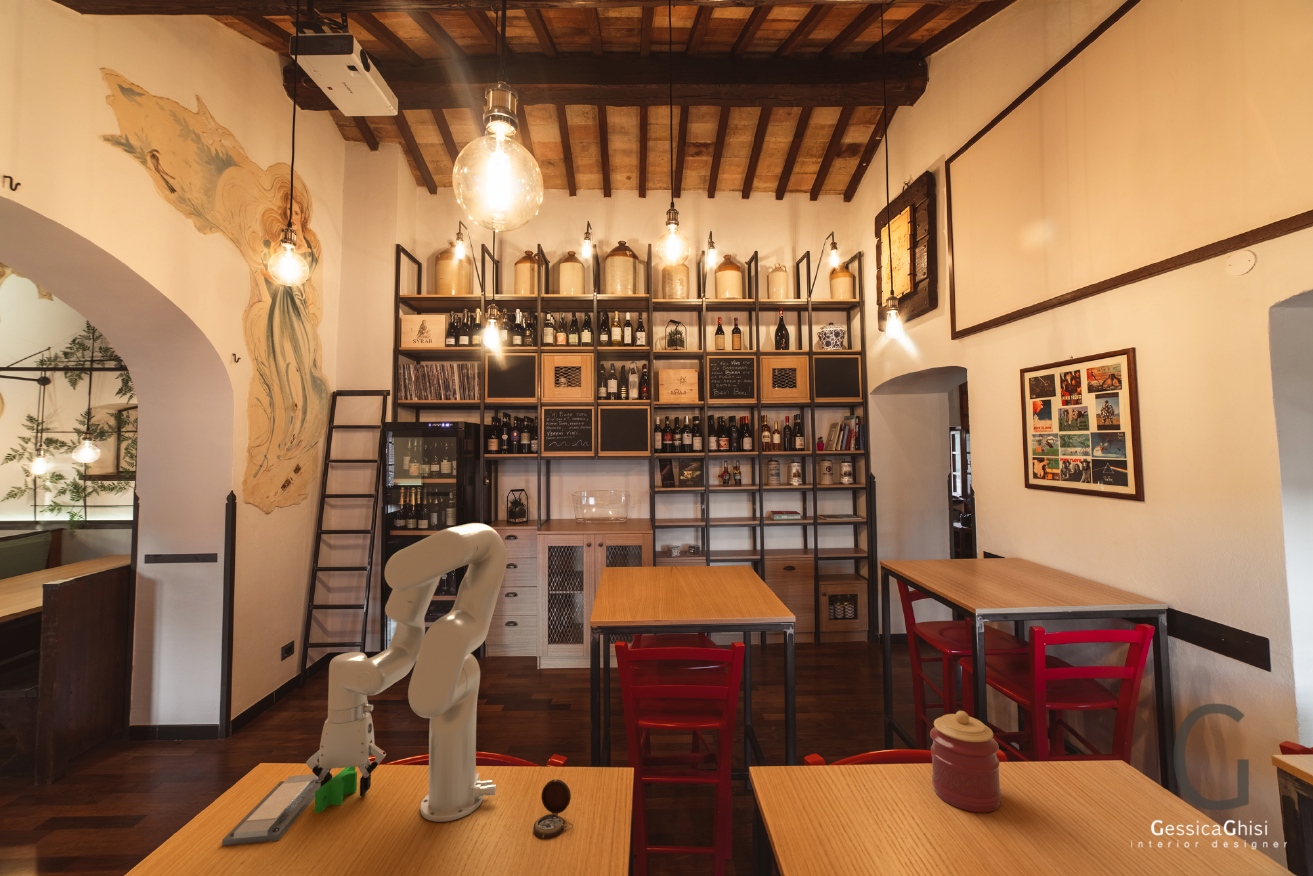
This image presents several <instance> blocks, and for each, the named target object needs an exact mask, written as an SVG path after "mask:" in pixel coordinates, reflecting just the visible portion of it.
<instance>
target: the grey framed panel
mask: <svg viewBox="0 0 1313 876" xmlns="http://www.w3.org/2000/svg"><path fill="white" fill-rule="evenodd" d="M320 787H321V781H319V780H318V777H317V776H316V775H315V774H314V773H313V774H312V773H311V774H297V775H289V777H287V778H286V779H285V780H281V781H279V782H278V783H277V784H276V785H275V786H274V787H273V788H272V789H271V790H270V791H269V793H267V794H266V795H265V796H264V797H263V798H262V799H261V800H260V801H259V802H258V803H257V805H255V806H254V807H253V808H252V809H251V810H250V811H249V812H248V813H247V814H246V815H245V817H243V818H242V819H241V820H240V822H238V823H237V825H235V826H234V828H232V829H231V831H229V832H228V833H227V834H226V835H225V836H224V837H223V838H222V841H221V847H227V846H228V847H230V846H238V845H249V844H250V845H251V844H258V843H271V842H279V841H280V840H281V838H282V837H283V836H284V835H285V834H286V833H287V831H288V830H289V829H290V827H291V826H292V825H293V824H294V823H295V821H297V819H298V818H299V817H300V815H301V814H303V812H304V811H305V810H306V809H307V808H308V806H309V805H310V804H311V803H312V801H313V800H315V798H314V797H315V791H317V790H318V789H319V788H320ZM288 828H289V829H288Z"/></svg>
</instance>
